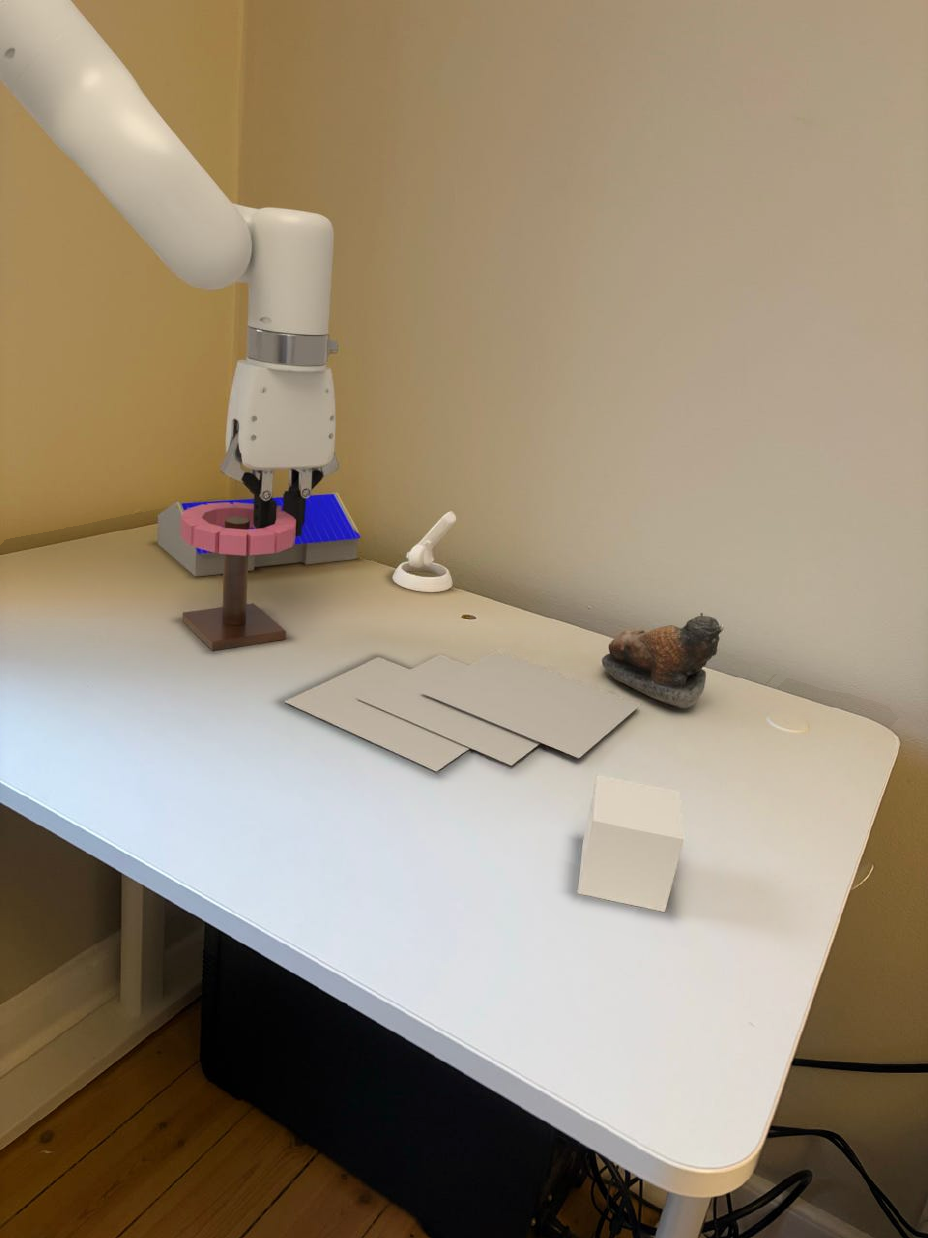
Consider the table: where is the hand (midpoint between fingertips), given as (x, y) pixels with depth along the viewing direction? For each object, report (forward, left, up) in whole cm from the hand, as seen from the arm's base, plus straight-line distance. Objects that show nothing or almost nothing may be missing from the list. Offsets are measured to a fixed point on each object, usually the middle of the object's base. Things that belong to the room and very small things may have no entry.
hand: (278, 532), depth 95 cm
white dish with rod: (+23, +6, -11) cm, 26 cm away
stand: (-5, 0, -10) cm, 11 cm away
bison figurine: (+28, -29, -11) cm, 42 cm away
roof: (+8, +22, -11) cm, 26 cm away
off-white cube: (+3, -49, -11) cm, 50 cm away
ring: (-4, 0, 0) cm, 4 cm away
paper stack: (+8, -24, -10) cm, 27 cm away
